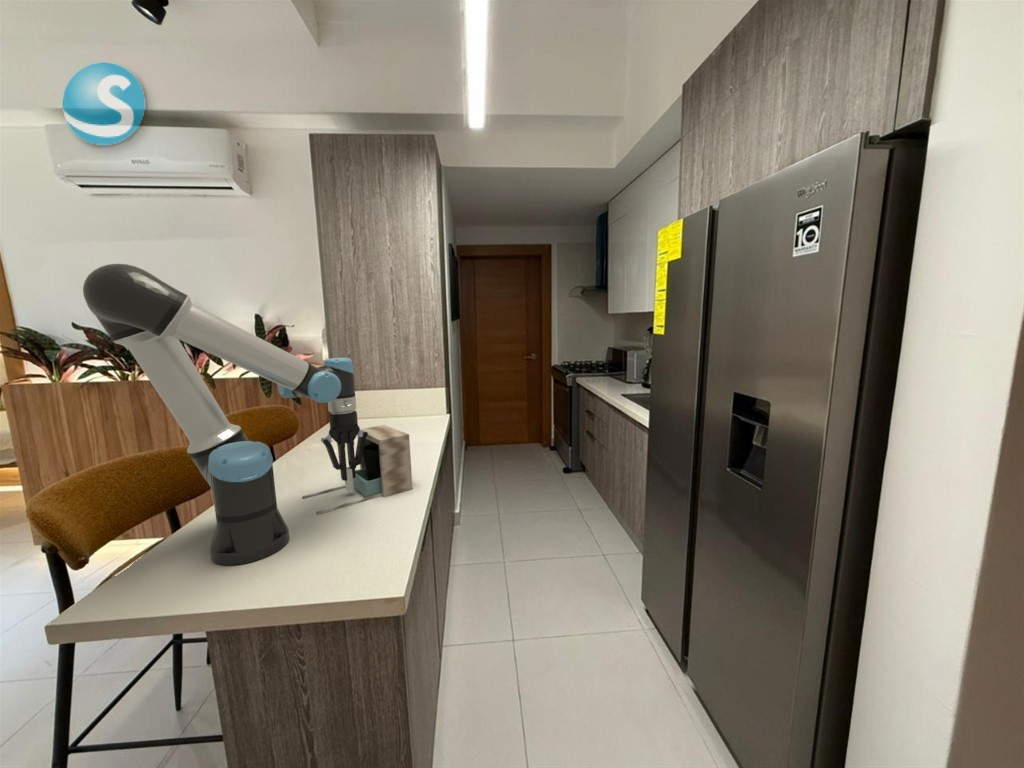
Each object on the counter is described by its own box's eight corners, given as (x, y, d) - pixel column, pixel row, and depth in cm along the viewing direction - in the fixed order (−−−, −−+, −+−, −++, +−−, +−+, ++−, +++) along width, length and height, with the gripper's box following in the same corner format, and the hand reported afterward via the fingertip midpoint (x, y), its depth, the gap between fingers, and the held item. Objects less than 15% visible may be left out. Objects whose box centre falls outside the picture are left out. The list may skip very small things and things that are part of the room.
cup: (383, 489, 125) (380, 450, 123) (360, 488, 126) (356, 450, 125) (395, 480, 132) (392, 443, 131) (373, 479, 134) (370, 442, 132)
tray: (367, 498, 121) (365, 482, 120) (351, 486, 130) (349, 471, 130) (405, 487, 128) (404, 472, 128) (387, 476, 138) (386, 462, 137)
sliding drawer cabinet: (318, 516, 110) (312, 454, 108) (300, 496, 124) (295, 440, 121) (412, 488, 127) (409, 434, 125) (387, 474, 141) (384, 424, 138)
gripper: (322, 417, 113) (330, 499, 117) (370, 409, 122) (376, 487, 125) (315, 413, 119) (322, 492, 122) (360, 406, 127) (366, 480, 131)
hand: (349, 489), depth 124 cm, fingers closed
